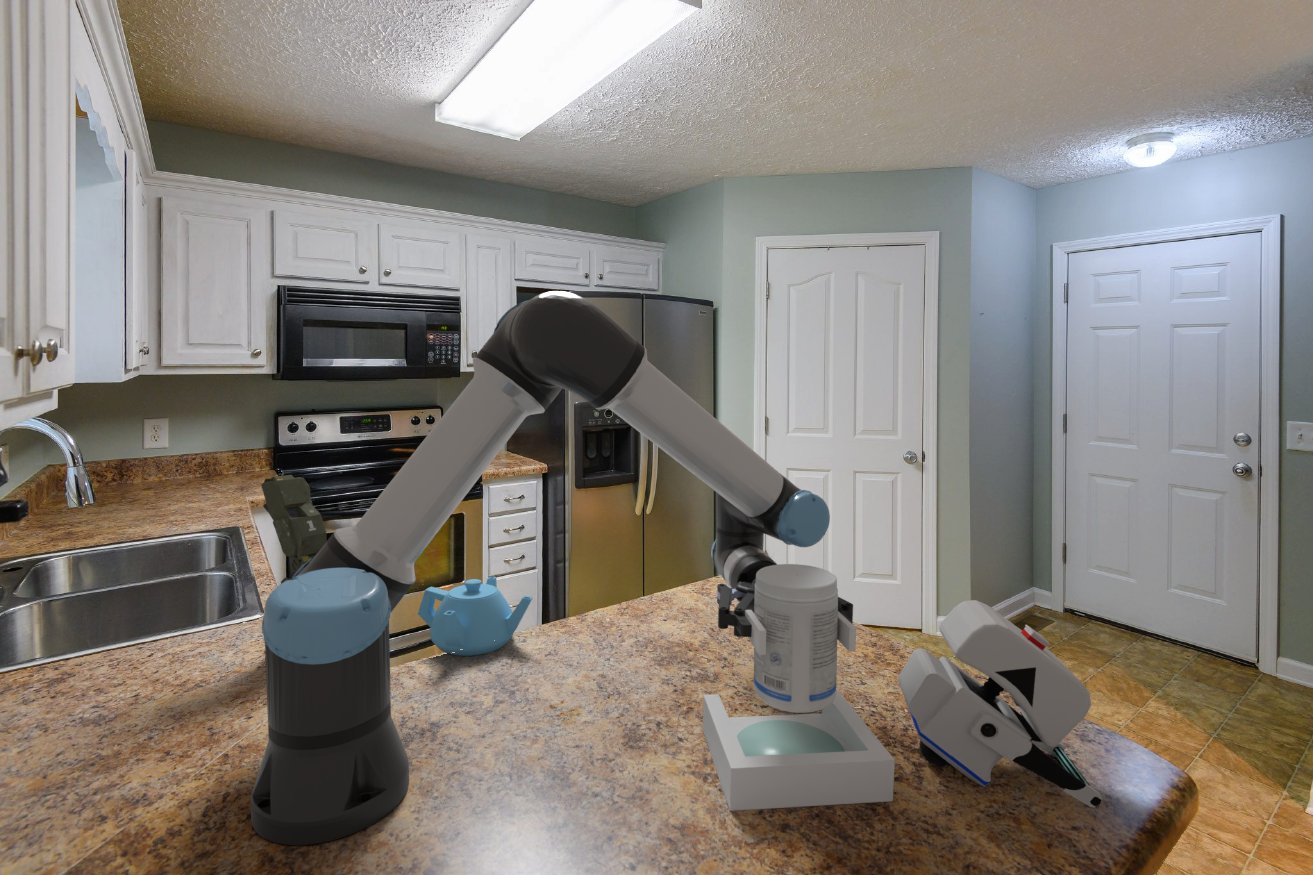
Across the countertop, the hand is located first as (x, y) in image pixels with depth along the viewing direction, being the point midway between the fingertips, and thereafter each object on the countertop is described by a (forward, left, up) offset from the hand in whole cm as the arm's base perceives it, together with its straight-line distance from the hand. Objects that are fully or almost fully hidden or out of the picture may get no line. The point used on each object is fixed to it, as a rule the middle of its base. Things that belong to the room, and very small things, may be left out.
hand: (808, 641), depth 71 cm
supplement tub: (0, +4, -9) cm, 10 cm away
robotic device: (+23, +1, -17) cm, 29 cm away
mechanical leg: (-71, +42, -17) cm, 85 cm away
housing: (0, +4, -17) cm, 17 cm away
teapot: (-43, +43, -17) cm, 63 cm away
